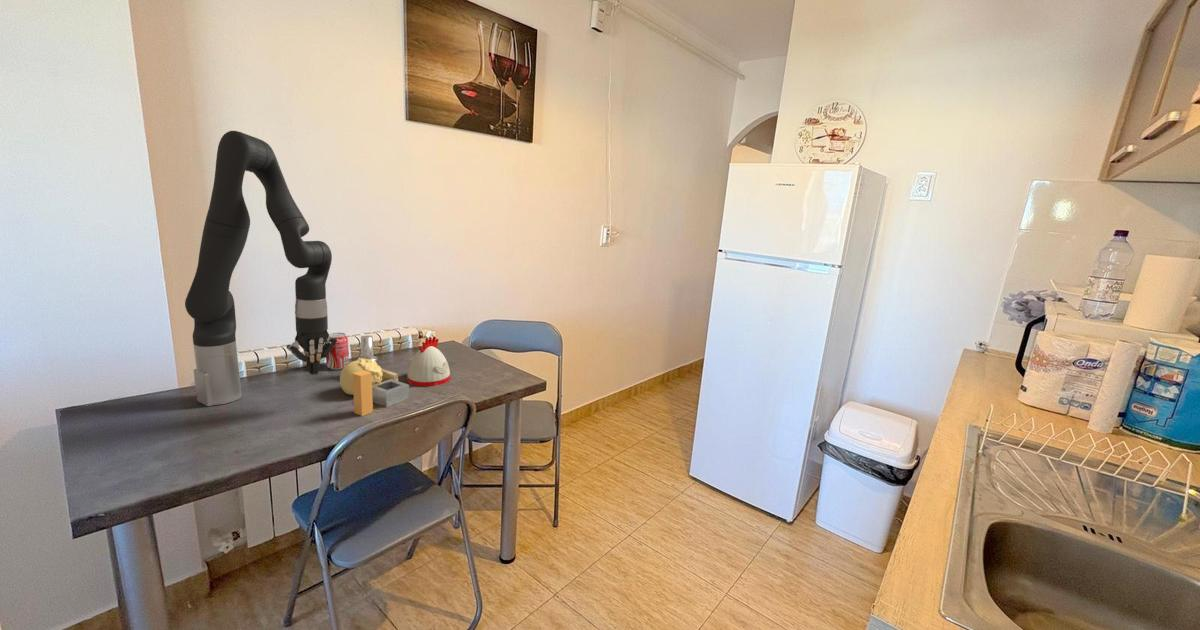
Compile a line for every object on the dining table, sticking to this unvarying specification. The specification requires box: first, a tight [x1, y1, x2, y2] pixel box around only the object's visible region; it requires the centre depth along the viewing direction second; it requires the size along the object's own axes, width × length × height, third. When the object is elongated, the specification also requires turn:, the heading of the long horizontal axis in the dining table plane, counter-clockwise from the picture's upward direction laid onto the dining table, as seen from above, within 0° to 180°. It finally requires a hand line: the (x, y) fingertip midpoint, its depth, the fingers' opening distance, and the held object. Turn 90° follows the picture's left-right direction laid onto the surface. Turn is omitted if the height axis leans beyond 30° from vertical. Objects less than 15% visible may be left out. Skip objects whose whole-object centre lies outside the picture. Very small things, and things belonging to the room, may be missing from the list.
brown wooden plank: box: [380, 367, 399, 382], centre depth 152 cm, size 2×12×5 cm, turn 62°
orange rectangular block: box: [353, 370, 374, 417], centre depth 131 cm, size 3×3×12 cm
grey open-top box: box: [372, 379, 410, 408], centre depth 141 cm, size 8×8×4 cm
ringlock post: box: [358, 335, 378, 363], centre depth 157 cm, size 6×6×14 cm
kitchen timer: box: [406, 335, 451, 387], centre depth 159 cm, size 14×14×15 cm
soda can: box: [325, 332, 350, 371], centre depth 163 cm, size 7×7×12 cm
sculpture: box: [339, 357, 383, 396], centre depth 145 cm, size 12×12×11 cm
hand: (313, 373), depth 131 cm, fingers closed
